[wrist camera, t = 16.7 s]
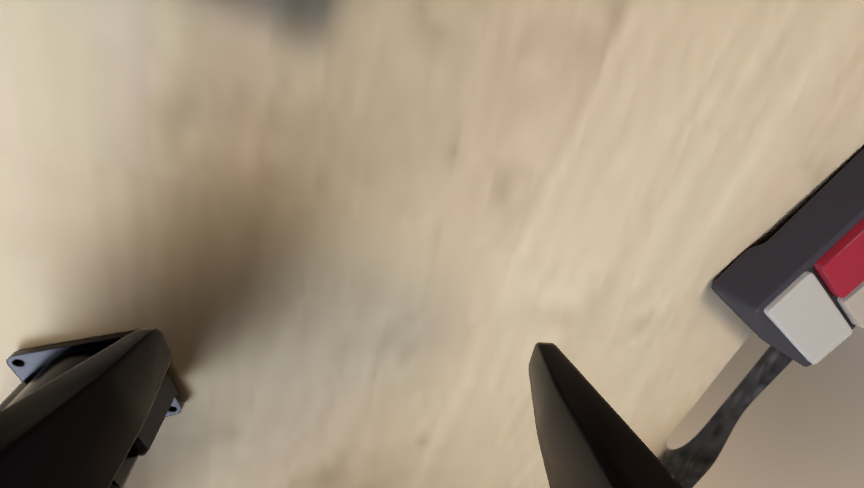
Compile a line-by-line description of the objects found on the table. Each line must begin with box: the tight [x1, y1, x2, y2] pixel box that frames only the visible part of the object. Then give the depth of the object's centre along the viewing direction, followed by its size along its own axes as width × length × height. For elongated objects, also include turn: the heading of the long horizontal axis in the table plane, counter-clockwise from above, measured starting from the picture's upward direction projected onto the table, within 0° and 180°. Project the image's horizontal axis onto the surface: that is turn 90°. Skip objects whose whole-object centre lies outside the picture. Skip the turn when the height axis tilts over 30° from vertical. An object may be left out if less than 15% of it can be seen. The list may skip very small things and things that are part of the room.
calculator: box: [711, 148, 864, 366], centre depth 27 cm, size 11×4×15 cm
